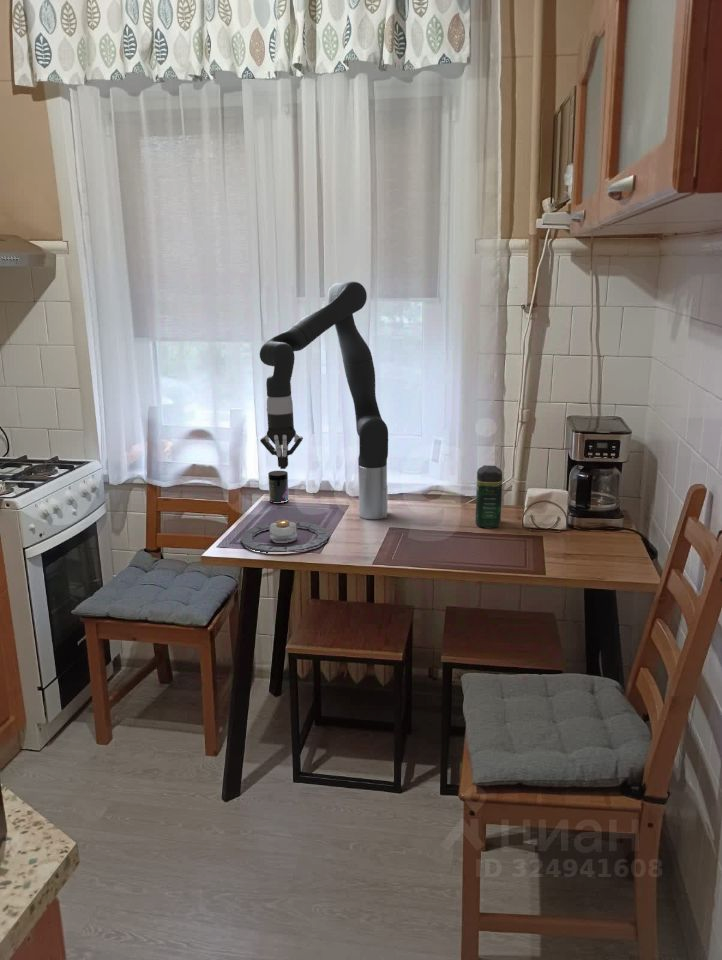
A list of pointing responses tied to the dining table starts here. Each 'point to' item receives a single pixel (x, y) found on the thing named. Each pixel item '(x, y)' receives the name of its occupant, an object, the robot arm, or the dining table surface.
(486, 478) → the coffee jar
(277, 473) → the supplement container
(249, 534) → the centring ring
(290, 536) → the cast cover
